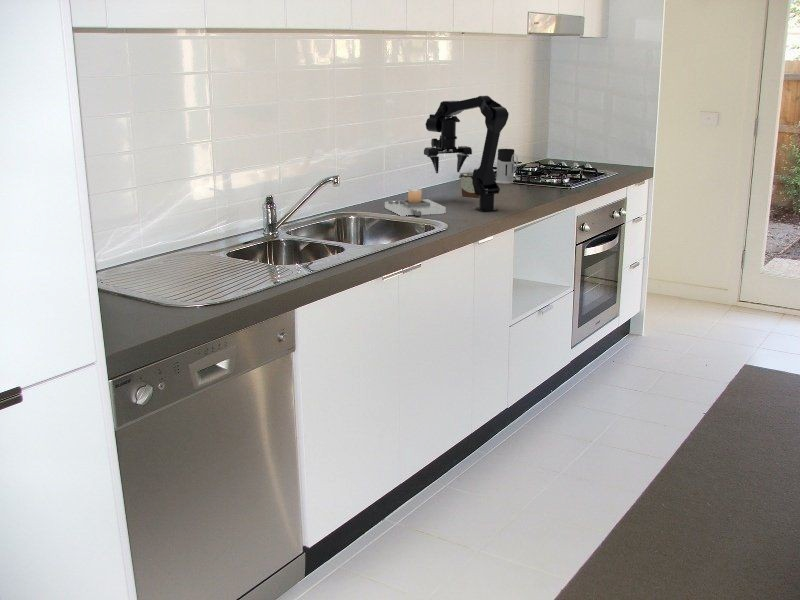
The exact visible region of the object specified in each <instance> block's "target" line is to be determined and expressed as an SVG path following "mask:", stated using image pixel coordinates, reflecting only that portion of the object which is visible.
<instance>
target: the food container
mask: <svg viewBox="0 0 800 600" xmlns="http://www.w3.org/2000/svg"><path fill="white" fill-rule="evenodd" d="M472 177H473V171H471V172H470V171H469V172H468V171H467V172H459V176H458V178H459V179H460V180H459V181H460V194H461V198H463V199H473V200H474V199H475V200H479V195H476V194H475V191H474V187H473V185H472Z"/></svg>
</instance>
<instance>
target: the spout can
mask: <svg viewBox="0 0 800 600" xmlns="http://www.w3.org/2000/svg"><path fill="white" fill-rule="evenodd" d="M407 193H408V196H407V198H408V199H407V200H408V203H409V204H414V203H421V199H422V189H419V188H411V189H410V188H409V189H408V192H407Z"/></svg>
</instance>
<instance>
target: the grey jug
mask: <svg viewBox="0 0 800 600" xmlns="http://www.w3.org/2000/svg"><path fill="white" fill-rule="evenodd" d="M515 159H516V160H515ZM496 161H497V162H496V178H495V182H496V183H497V184H504V185H505V184H514V183H513V181H514V182H515V180H514V175H515V173H516V170H517V168H518V161H519V159H518V155H517V154H515V149H514V148H497V160H496Z"/></svg>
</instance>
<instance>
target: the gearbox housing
mask: <svg viewBox="0 0 800 600" xmlns="http://www.w3.org/2000/svg"><path fill="white" fill-rule="evenodd" d="M384 208H385V209H386V210H388V211H390V212H391V211H392V213H393V212H394V214H395V213H396V214H395V215H397V214H398V215H397V216H399V215H400V216H399V217H409V216H408V215H415V216H417V217H420V216H428V215H430V214H431V215H445V214H446V209H447V208H446V206H444V205H441V204H440V203H438V202H435V201H433V200H431V199H428V198H427V199H422V198H421V203H414V204H409V203H408V199H400V200H397V199H396V200H395V199H390V200H388V201H384ZM444 213H445V214H444ZM406 215H407V216H406ZM431 215H430V216H431Z"/></svg>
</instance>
